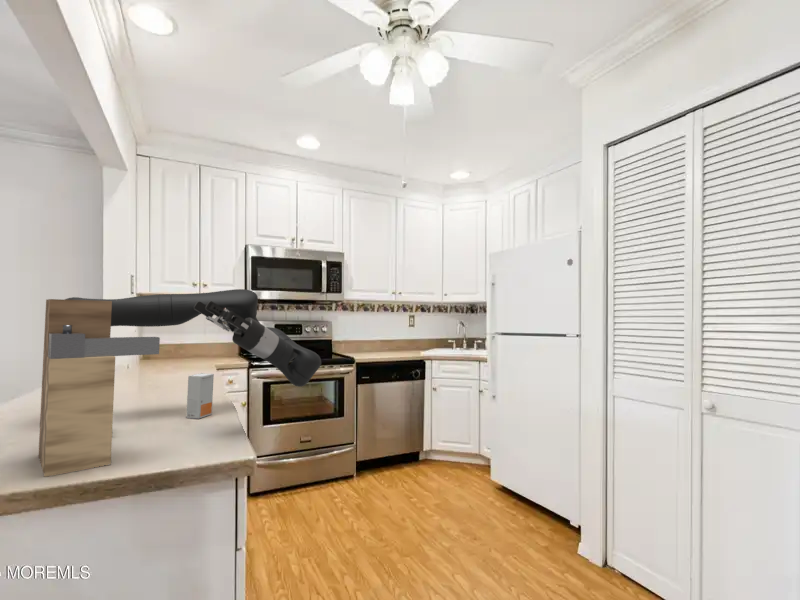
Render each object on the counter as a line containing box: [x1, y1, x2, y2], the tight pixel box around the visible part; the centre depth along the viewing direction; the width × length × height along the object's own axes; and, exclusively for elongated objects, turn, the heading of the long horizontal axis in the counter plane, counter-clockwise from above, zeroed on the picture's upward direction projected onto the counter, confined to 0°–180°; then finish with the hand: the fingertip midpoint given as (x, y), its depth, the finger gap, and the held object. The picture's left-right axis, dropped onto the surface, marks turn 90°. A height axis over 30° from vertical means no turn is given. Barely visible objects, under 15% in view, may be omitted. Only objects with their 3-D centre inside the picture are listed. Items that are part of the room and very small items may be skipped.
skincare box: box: [185, 372, 215, 420], centre depth 124 cm, size 6×4×12 cm
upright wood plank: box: [37, 298, 116, 478], centre depth 87 cm, size 15×10×32 cm, turn 43°
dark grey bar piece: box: [48, 325, 161, 359], centre depth 86 cm, size 5×18×6 cm, turn 133°
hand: (201, 304), depth 103 cm, fingers open, 8 cm apart
